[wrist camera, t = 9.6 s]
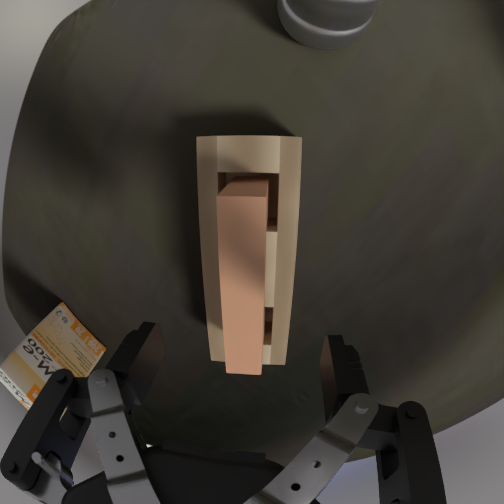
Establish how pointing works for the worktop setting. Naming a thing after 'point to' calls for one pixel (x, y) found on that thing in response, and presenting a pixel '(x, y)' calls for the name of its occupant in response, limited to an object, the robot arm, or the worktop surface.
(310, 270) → the worktop surface
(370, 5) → the metal bottle
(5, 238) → the worktop surface
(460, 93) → the worktop surface
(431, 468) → the robot arm
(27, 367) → the supplement box
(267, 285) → the rail
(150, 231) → the worktop surface
